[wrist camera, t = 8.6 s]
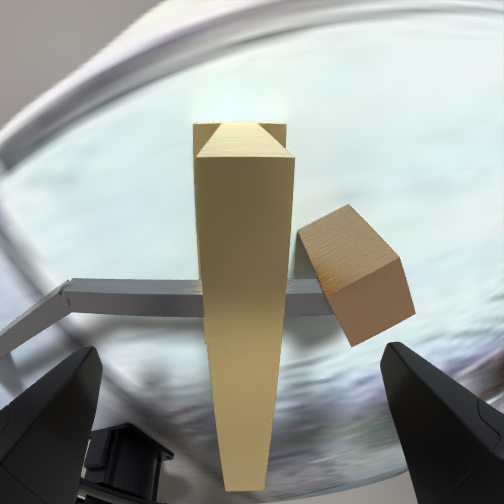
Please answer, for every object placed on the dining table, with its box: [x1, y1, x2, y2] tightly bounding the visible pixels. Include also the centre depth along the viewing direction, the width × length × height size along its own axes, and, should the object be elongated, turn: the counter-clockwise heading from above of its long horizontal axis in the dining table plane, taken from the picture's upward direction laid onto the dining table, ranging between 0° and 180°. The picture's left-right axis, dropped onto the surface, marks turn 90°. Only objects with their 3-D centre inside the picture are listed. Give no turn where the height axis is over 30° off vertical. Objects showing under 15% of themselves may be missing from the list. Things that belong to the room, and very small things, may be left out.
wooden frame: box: [193, 122, 295, 491], centre depth 12 cm, size 12×4×10 cm, turn 179°
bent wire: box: [0, 204, 416, 358], centre depth 15 cm, size 9×30×6 cm, turn 119°
